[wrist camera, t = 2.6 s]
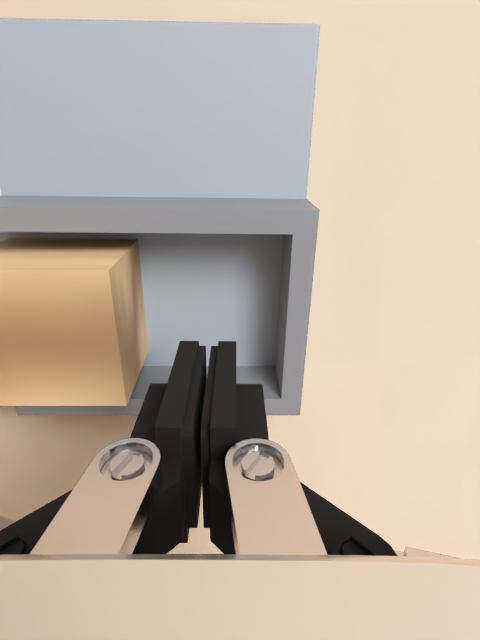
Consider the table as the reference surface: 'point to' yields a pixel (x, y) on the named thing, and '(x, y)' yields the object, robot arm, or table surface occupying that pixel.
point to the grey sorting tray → (173, 178)
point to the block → (70, 321)
